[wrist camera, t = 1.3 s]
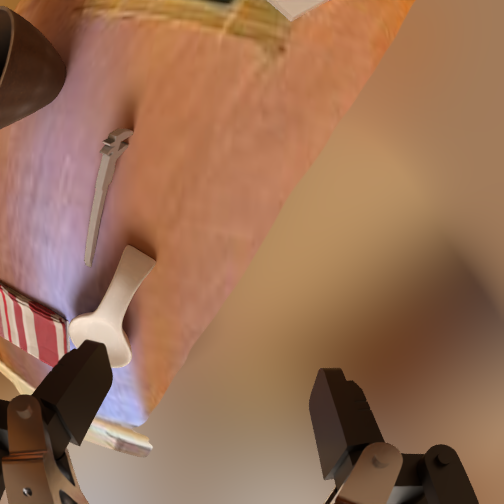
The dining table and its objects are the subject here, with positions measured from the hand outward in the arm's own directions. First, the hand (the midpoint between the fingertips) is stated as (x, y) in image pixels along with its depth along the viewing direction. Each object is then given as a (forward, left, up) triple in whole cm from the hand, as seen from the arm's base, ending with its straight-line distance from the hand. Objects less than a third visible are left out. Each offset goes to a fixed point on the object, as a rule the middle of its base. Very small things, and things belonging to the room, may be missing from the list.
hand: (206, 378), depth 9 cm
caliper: (-11, -12, -27) cm, 31 cm away
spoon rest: (0, -24, -27) cm, 36 cm away
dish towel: (-12, -47, -27) cm, 55 cm away
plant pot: (-31, -6, -27) cm, 41 cm away
